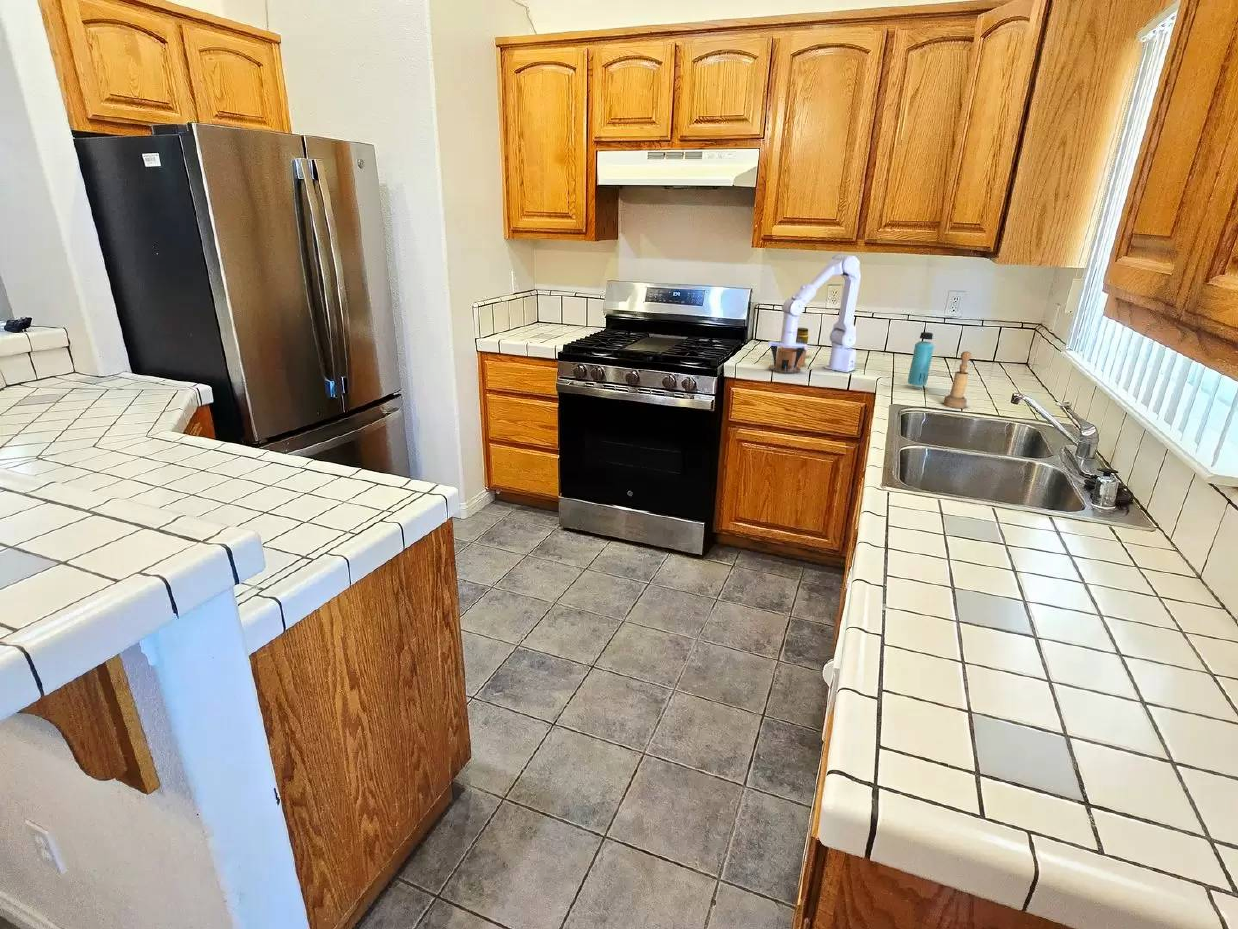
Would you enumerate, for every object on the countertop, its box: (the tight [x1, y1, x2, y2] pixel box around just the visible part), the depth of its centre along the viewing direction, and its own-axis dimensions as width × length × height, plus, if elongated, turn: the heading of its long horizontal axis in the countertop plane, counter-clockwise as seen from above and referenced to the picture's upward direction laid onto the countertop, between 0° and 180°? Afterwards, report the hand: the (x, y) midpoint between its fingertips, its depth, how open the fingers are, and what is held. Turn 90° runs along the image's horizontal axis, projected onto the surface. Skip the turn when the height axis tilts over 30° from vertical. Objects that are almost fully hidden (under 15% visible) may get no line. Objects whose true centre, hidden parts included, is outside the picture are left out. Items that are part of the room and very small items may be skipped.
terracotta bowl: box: [776, 347, 807, 368], centre depth 265 cm, size 11×11×6 cm
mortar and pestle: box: [943, 351, 972, 409], centre depth 212 cm, size 7×6×18 cm
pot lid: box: [768, 358, 801, 374], centre depth 253 cm, size 12×12×4 cm
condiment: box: [791, 327, 810, 358], centre depth 278 cm, size 7×8×12 cm
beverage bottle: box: [907, 331, 935, 387], centre depth 232 cm, size 6×7×20 cm
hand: (784, 366), depth 253 cm, fingers open, 7 cm apart
